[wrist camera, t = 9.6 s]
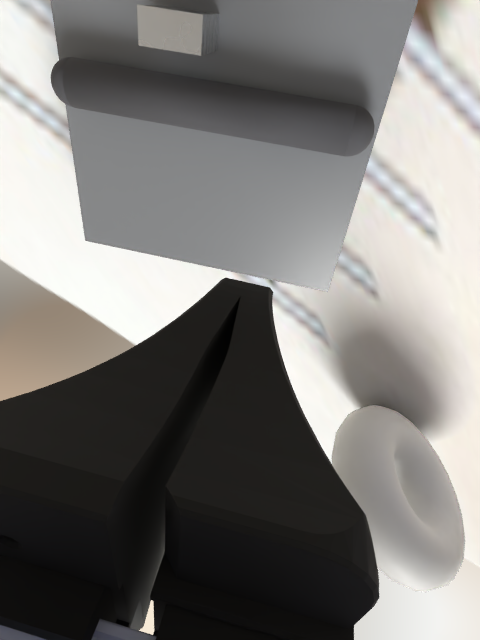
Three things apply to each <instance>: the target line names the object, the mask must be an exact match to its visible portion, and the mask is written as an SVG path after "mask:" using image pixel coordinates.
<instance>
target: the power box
mask: <svg viewBox="0 0 480 640" xmlns="http://www.w3.org/2000/svg"><path fill="white" fill-rule="evenodd" d="M417 2H418V0H51V6H52V13H53V20H54V27H55V34H56V41H57V48H58V55H59V61H58V62H57V63H56V64H55V65H54V67H53V69H52V72H51V84H52V87H53V89H54V92H55V94H56V95H57V96H58V98H59V99H60V100H61V101H62V102H64V103H65V104H66V110H67V117H68V124H69V131H70V138H71V145H72V152H73V158H74V165H75V172H76V179H77V186H78V193H79V200H80V207H81V214H82V221H83V228H84V235H85V241H89V242H94V243H99V244H104V245H108V246H113V247H118V248H122V249H127V250H132V251H137V252H141V253H146V254H151V255H156V256H160V257H165V258H170V259H175V260H179V261H184V262H189V263H194V264H198V265H203V266H208V267H213V268H217V269H222V270H227V271H231V272H236V273H241V274H246V275H250V276H255V277H260V278H265V279H269V280H274V281H279V282H284V283H288V284H293V285H298V286H303V287H307V288H312V289H317V290H322V291H326V292H328V290H329V287H330V284H331V280H332V277H333V274H334V271H335V267H336V264H337V261H338V258H339V255H340V251H341V248H342V245H343V242H344V238H345V235H346V232H347V229H348V225H349V222H350V219H351V216H352V212H353V209H354V206H355V203H356V200H357V196H358V193H359V190H360V187H361V183H362V180H363V177H364V174H365V170H366V167H367V164H368V161H369V158H370V154H371V151H372V148H373V145H374V141H375V138H376V135H377V132H378V128H379V125H380V122H381V119H382V115H383V112H384V109H385V106H386V103H387V99H388V96H389V93H390V90H391V86H392V83H393V80H394V77H395V73H396V70H397V67H398V64H399V61H400V57H401V54H402V51H403V48H404V44H405V41H406V38H407V35H408V31H409V28H410V25H411V22H412V18H413V15H414V12H415V9H416V6H417Z"/></svg>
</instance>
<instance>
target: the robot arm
mask: <svg viewBox="0 0 480 640" xmlns="http://www.w3.org/2000/svg"><path fill="white" fill-rule="evenodd" d="M272 295H273V291H272V290H271V288H269V287H265V286H260V285H256V284H251V283H247V282H243V281H238V280H234V279H229V278H224V279H222V280H221V281H220V282H219V283H218V284H217V285H216V286H215V287H213V288H212V289H211V290H210V291H209V292H208V293H207V294H206V295H205V296H204V297H202V298H201V299H200V300H199V301H198V302H197V303H195V304H194V305H193V306H192V307H190V308H189V309H188V310H187V311H186V312H184V313H183V314H182V315H181V316H179V317H178V318H177V319H175V320H174V321H172V322H171V323H170V324H168V325H167V326H165V327H164V328H163V329H161V330H160V331H158V332H157V333H155V334H154V335H152V336H151V337H149V338H148V339H146V340H144V341H143V342H141V343H139V344H138V345H136V346H134V347H133V348H131V349H129V350H127V351H126V352H124V353H122V354H120V355H118V356H116V357H114V358H112V359H110V360H108V361H106V362H104V363H102V364H100V365H98V366H96V367H93V368H91V369H89V370H87V371H85V372H82V373H80V374H77V375H75V376H73V377H70V378H68V379H65V380H62V381H60V382H57V383H55V384H52V385H49V386H46V387H44V388H41V389H38V390H35V391H32V392H29V393H26V394H22V395H19V396H16V397H13V398H9V399H6V400H3V401H0V640H354V625H355V624H356V623H357V622H358V621H359V620H360V619H361V618H362V617H363V616H364V615H365V614H366V613H367V612H368V611H369V610H370V609H372V607H374V605H375V604H376V602H377V600H378V599H379V579H378V569H377V563H376V557H375V551H374V546H373V541H372V537H371V532H370V528H369V524H368V520H367V517H366V514H365V513H364V511H363V510H362V509H361V507H360V506H359V504H358V503H357V502H356V500H355V499H354V497H353V496H352V494H351V493H350V492H349V490H348V489H347V487H346V486H345V484H344V483H343V481H342V480H341V478H340V477H339V475H338V474H337V472H336V470H335V469H334V467H333V465H332V464H331V462H330V461H329V459H328V457H327V456H326V454H325V452H324V451H323V449H322V447H321V445H320V443H319V442H318V440H317V438H316V436H315V434H314V432H313V430H312V428H311V427H310V425H309V423H308V421H307V419H306V417H305V415H304V413H303V411H302V409H301V407H300V404H299V402H298V400H297V398H296V395H295V393H294V390H293V388H292V385H291V383H290V380H289V377H288V375H287V372H286V369H285V366H284V362H283V359H282V356H281V352H280V348H279V344H278V340H277V335H276V330H275V325H274V319H273V310H272ZM151 600H153V601H154V628H155V631H154V634H153V635H151V634H147V633H144V632H141V631H139V630H140V629H141V628H142V627H143V626H144V623H145V619H146V615H147V612H148V608H149V605H150V601H151Z"/></svg>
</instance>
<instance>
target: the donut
mask: <svg viewBox="0 0 480 640" xmlns="http://www.w3.org/2000/svg"><path fill="white" fill-rule="evenodd" d="M332 465H333V467H334V469H335V470H336V472H337V474H338V475H339V477H340V478H341V480H342V481H343V483H344V484H345V486H346V487H347V489H348V490H349V492H350V493H351V494H352V496H353V497H354V499H355V500H356V502H357V503H358V504H359V506H360V507H361V509H362V510H363V511H364V513H365V514H366V517H367V520H368V524H369V528H370V532H371V537H372V541H373V546H374V551H375V557H376V563H377V568H378V569H379V570H380V571H381V572H382V573H383V574H384V575H386V576H387V578H388V579H390V580H392V581H394V582H396V583H398V584H400V585H403V586H405V587H407V588H409V589H412V590H414V591H420V592H427V591H430V590H434V589H437V588H441V587H444V586H446V585H448V584H449V583H450V582H451V581H452V580H453V579H454V578H455V576H456V574H457V572H458V571H459V569H460V567H461V564H462V562H463V559H464V548H465V536H464V528H463V520H462V514H461V510H460V507H459V503H458V500H457V496H456V493H455V491H454V488H453V486H452V483H451V481H450V478H449V476H448V473H447V472H446V470H445V468H444V466H443V464H442V462H441V460H440V458H439V456H438V455H437V453H436V452H435V450H434V449H433V447H432V446H431V444H430V443H429V441H428V440H427V439H426V437H425V436H424V435H423V434H422V433H421V432H420V431H419V430H418V429H417V428H416V426H415V425H414V424H413V423H412V422H411V421H410V420H408V419H407V418H406V417H404V416H403V415H401V414H400V413H399V412H397V411H394V410H392V409H389V408H386V407H382V406H376V405H371V406H366V407H363V408H360V409H357V410H355V411H353V412H351V413H350V414H348V415H347V417H346V418H345V420H344V421H343V423H342V424H341V426H340V427H339V429H338V430H337V432H336V436H335V441H334V447H333V452H332Z"/></svg>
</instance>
